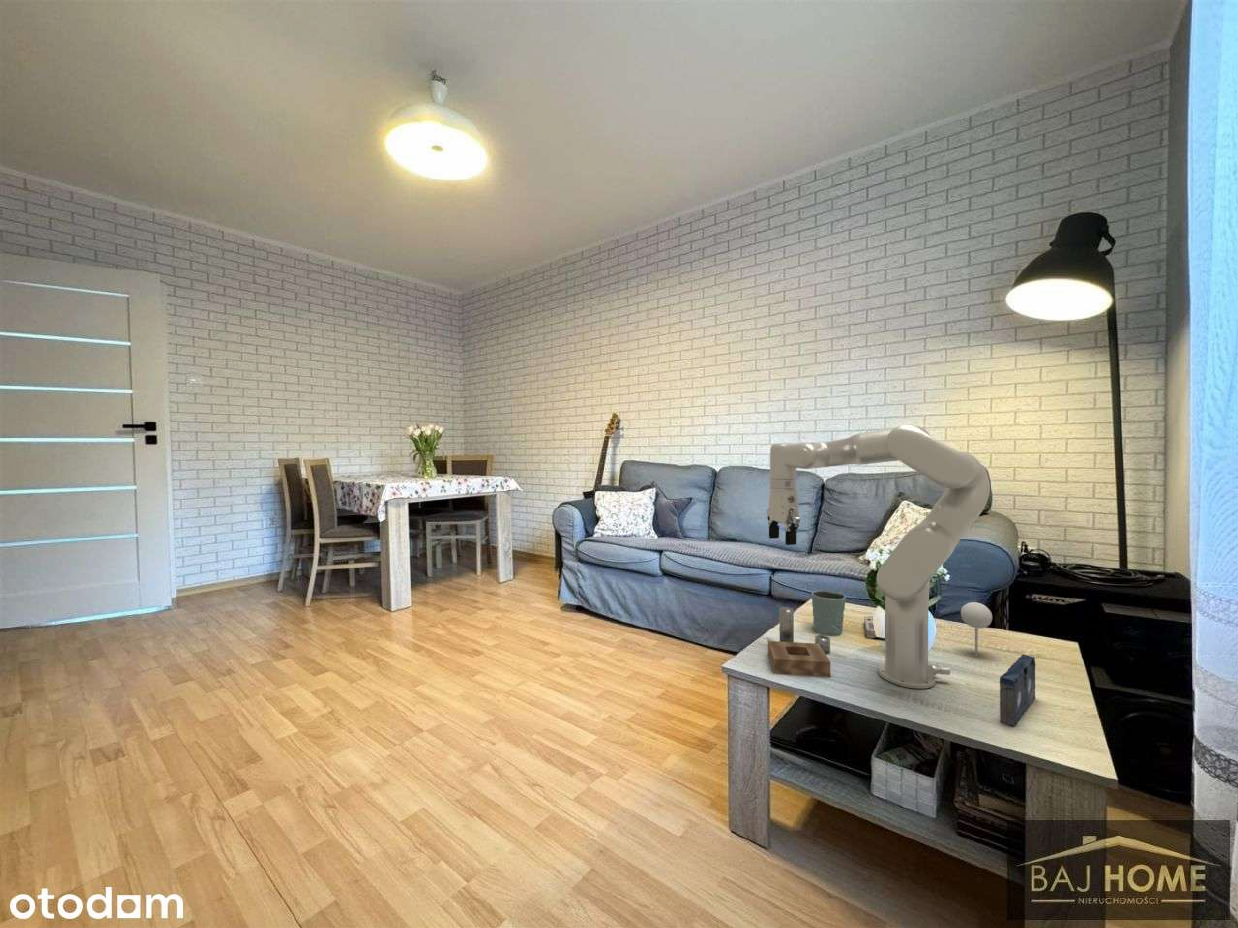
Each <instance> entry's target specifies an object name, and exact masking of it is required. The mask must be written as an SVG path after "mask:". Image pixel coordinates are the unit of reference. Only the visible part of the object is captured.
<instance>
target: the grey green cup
mask: <svg viewBox="0 0 1238 928" xmlns="http://www.w3.org/2000/svg"><path fill="white" fill-rule="evenodd" d="M846 599H847V596H846V595H845V594H843V593H841V592H839V591H834V590H833V591H832V590H828V589H827V590H825V589H824V590H822V589H818V590H813V591H811V605H812V616H813V617H812V618H813V619H812V621H813V623H812V624H813V630H814V632H816V633H817V634H819V635H820V634H821V635H822V636H827V637H830V636H831V637H836V636H837V637H838V636H840V635H842V633H843V628H844V626H843V625H844V623H843V622H844V616H845V614H844V613H845V607H846V601H847V600H846Z"/></svg>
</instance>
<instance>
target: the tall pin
mask: <svg viewBox="0 0 1238 928" xmlns="http://www.w3.org/2000/svg"><path fill="white" fill-rule="evenodd" d="M778 609H779V610H778V612H779V615H778V616H779V623H778V624H779V626H778V627H779V630H778V631H779V642H795V632H794V631H795V629H794V628H795V627H794V624H795V617H794V614H795V612H794V611H795V610H794V609H793V608H792V607H788V606H787V607H786V606H781V607H779V608H778Z"/></svg>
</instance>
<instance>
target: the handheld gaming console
mask: <svg viewBox="0 0 1238 928" xmlns="http://www.w3.org/2000/svg"><path fill="white" fill-rule="evenodd" d="M873 616H874V615H870V616H869V615H868V616H864V617H863V619H864V623H863V625H864V630H865V635H866V638H867V639H871V640H874V638H876V635H875V630H874V625H873Z"/></svg>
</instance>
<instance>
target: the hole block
mask: <svg viewBox="0 0 1238 928" xmlns="http://www.w3.org/2000/svg"><path fill="white" fill-rule="evenodd" d="M767 656H769V657H768V659H770V660H769V662H771V663H770V665H772V666H771V668H773V669H772V671H773V674H774V675H787V676H802V677H803V676H805V677H821V678H831V677H832V676H831V675H832V674H831V660H830V659H829V657H828V655H827V654H825V652H824V651H823V649H822V648H821V646H820V644H818V643H815V642H812V643H811V642H795V641H794V642H780V641H778V640H776V641H775V640H767Z"/></svg>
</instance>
